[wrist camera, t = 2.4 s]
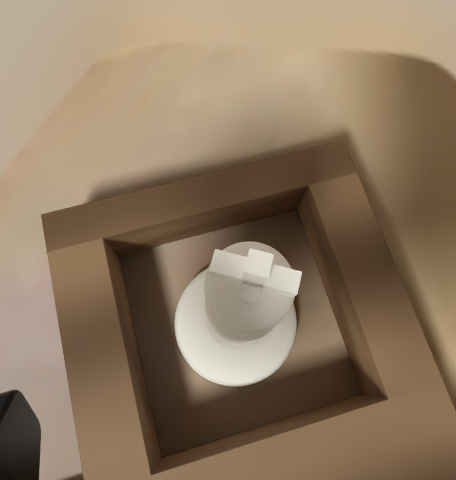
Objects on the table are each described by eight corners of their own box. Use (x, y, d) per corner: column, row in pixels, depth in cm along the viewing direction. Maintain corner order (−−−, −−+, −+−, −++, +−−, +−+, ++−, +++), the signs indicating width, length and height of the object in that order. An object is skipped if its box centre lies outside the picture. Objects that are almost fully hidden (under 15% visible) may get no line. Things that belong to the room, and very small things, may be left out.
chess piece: (194, 250, 17) (164, 109, 8) (306, 280, 17) (419, 172, 8) (158, 367, 16) (70, 369, 6) (281, 401, 16) (379, 459, 6)
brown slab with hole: (503, 618, 14) (563, 672, 11) (157, 754, 13) (142, 846, 10) (327, 168, 19) (343, 139, 16) (65, 235, 17) (41, 214, 15)
